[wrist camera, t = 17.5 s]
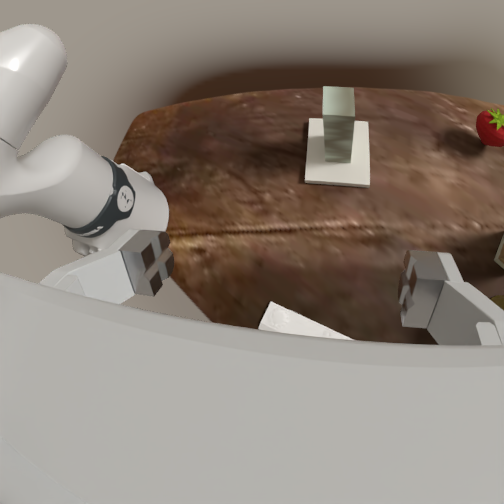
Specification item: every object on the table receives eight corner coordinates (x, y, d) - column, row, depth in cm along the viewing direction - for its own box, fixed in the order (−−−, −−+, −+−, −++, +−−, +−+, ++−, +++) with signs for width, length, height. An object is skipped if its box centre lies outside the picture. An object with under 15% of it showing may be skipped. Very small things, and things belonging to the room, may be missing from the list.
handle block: (325, 161, 46) (322, 114, 35) (326, 135, 47) (323, 86, 36) (350, 163, 45) (354, 116, 34) (350, 136, 46) (353, 88, 35)
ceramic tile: (305, 183, 47) (304, 180, 46) (309, 121, 49) (309, 118, 49) (369, 187, 45) (369, 185, 44) (367, 125, 47) (367, 121, 46)
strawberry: (499, 164, 40) (524, 136, 30) (466, 147, 42) (486, 115, 33) (500, 140, 40) (521, 110, 31) (467, 124, 43) (485, 90, 33)
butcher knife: (349, 377, 40) (350, 378, 39) (256, 332, 44) (255, 332, 43) (366, 344, 40) (367, 345, 39) (272, 300, 45) (270, 300, 44)
